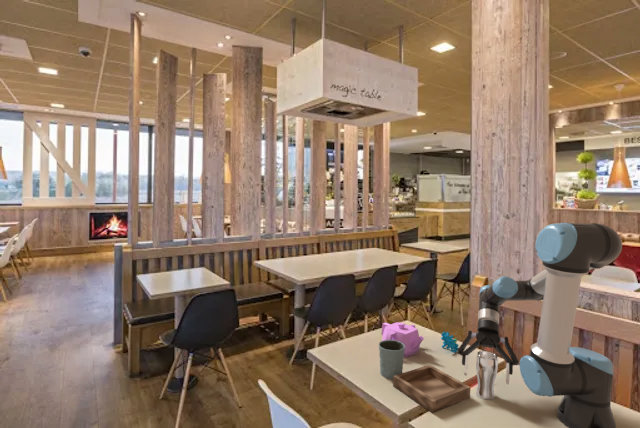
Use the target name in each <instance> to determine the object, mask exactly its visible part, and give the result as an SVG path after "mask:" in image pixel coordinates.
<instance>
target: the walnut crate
mask: <svg viewBox="0 0 640 428" xmlns="http://www.w3.org/2000/svg"><path fill="white" fill-rule="evenodd" d="M392 381H393V382H392V387H393V388H394V389H396V390H398V391H399V392H401V394H403V395H405V396H406V397H408V398H409V399H411V401H413V400H414V401H413V402H415V403H416V404H418V405H419V406H421V407H422V408H423V409H425V410H426V411H428V412H429V413H431V414H434V413H437V412H440V411H441V410H444V409H446V408H448V407H451V406H454V405H456V404H458V403H462V402H463V401H466V400H468V399H470V398H471V386H470V385H467V384H465V383H464V382H462V381H460V380H458V379H456V378H455V377H453V376H452V375H449V374H448V373H445V372H444V371H442V370H440V369H438V368H437V367H435V366H433V365H431V364H428V365H424V366H421V367H418V368H414V369H411V370H408V371H405V372H402V373H401V374H398V375H395V376H393V379H392Z"/></svg>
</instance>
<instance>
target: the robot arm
mask: <svg viewBox="0 0 640 428" xmlns="http://www.w3.org/2000/svg"><path fill="white" fill-rule="evenodd" d="M622 250H623V242H622V238H621V236H620V235H619V234H618V232H617V231H616V230H614V229H613V228H612V227H610V226H608V225H605V224H602V223H597V222H596V223H595V222H593V223H585V222H582V223H578V222H572V223H571V222H560V223H551V224H548V225H545V227H543V228H542V229H541V230H539V232H538V235H537V237H536V240H535V252H537V253H536V255H537V257H538V258H539V260H541V262H542V264H541V265H542V266H543V268H544V269H543V270H542V271H540V272H539V273H536V274H535V276H533V277H530V278H529V279H528V280H516V279H514V278H512V277H510V276H505V275H504V276H500V277H499V278H498V279H496V280H494V282H493V283H492V284H487V285H483V286H481V287H480V290H479V294H478V313H477V321H478V322H477V331H476V332H473V331H472V330H468V333H467V336H466V337H465V339H464V340H463V342H462V343H461V344H460V346H458V351H457V354H458V355H461V365H463V366H464V376H466V377H467V375H468V361H469V355H470V354H471V353H472V352H474V351H475V350H476V349H477V348H479V347H480V346H482V347H483V348H489V349H493V348H494V349H495V350H496V352H498V354H499V355H500V356H501V357H502V358H503V360H504V361H505V363H506V366H505V368H506V369H505V370H506V371H505V373H506V374H505V383H506V385H509V384H510V375H513V374H514V373H513V371H514V366H518V365H519V373H520V376H521V378H522V379H523V383H524V384H525V386H526V387H527V388H528V389H529V391H530V392H531V393H532V394H535V395H536V396H540V397H550V398H551V397H555V396H556V397H557V396H559V397H560V396H563V397H562V399H561V401H560V403H559V404H558V406H557V418H558V420H559V421H560V422H561V423H562V424H563V425H564V426H565V427H567V428H617V425H616V421H615V418H614V414H613V412H612V408H611V403H612V401H611V400H612V391H613V380H614V364H613V362H612V360H611V359H610V358H608V357H607V356H605V355H603V354H601V353H599V352H596V351H593V350H591V349H588V348H583V347H579V346H571V345H572V341H573V340H572V339H573V333H574V325H575V320H576V314H577V306H578V301H579V294H580V288H581V281H582V278H583V277H584V276H586V275H588V274H589V272H590V271H591V270H594V269H595V270H600V269H602V268H605V267H606V266H608V265H609V264H611V263H613V262H614V261H615V260H616V259H617V258H619V255H621V253H622ZM509 301H511V302H512V301H514V302H516V301H517V302H518V301H535V302H537V301H538V302H539V301H542V304H541V305H542V306H541V312H540V320H539V327H538V334H537V340H536V341H537V342H535V343H533V344H531V345H530V351H529V355H528V354H527V355H526V354H525V355H524V356H522V357H521V358H520V360H518V357H517V356H516V353H515V352H514V350H513V348H512V346H511V344H510V343H509V337H508V336H504V337H501V336H500V307H501V306H502V305H503V304H505V303H506V302H509ZM474 337H475V338H476V341H475V342H473V343H472V344H471V345H470V346H468V344H469V343H470V342H471V341H472V339H474ZM500 342H501V343H502V344H503V345H504V347H505V349H506V350H507V351H505V350H504V349H503V348H502V347H501V345H500ZM467 346H468V347H467ZM506 352H507V353H508V354H507V353H506Z"/></svg>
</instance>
